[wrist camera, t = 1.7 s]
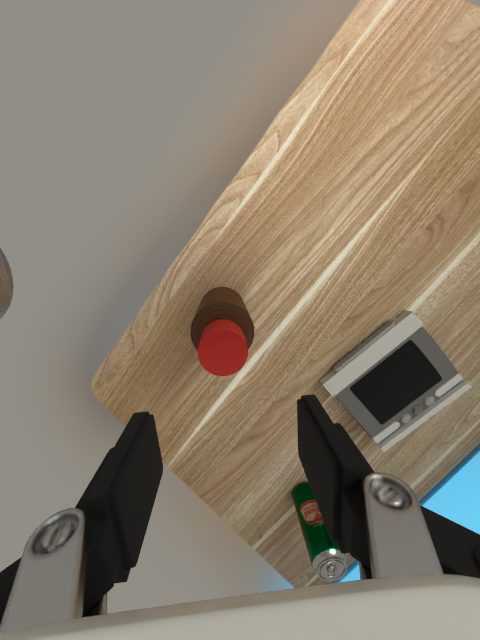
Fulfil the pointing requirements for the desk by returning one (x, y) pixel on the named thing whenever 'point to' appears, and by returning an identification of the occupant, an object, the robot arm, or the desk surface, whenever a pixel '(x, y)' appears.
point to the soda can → (318, 536)
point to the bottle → (222, 313)
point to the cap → (222, 348)
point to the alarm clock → (395, 380)
